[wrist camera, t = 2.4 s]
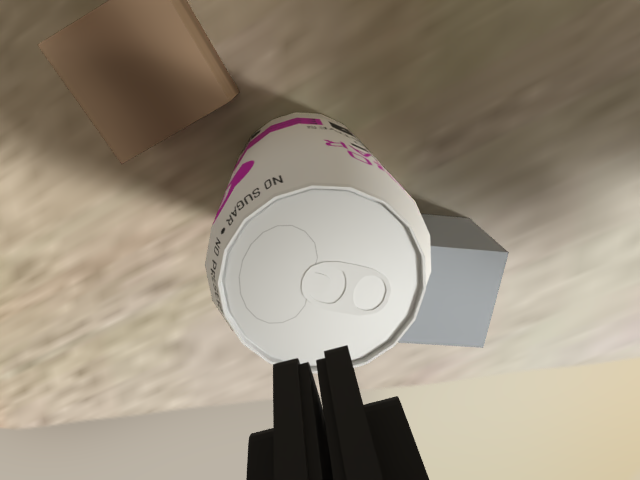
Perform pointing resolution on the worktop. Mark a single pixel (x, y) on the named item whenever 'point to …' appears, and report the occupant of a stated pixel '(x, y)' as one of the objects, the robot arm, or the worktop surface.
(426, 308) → the slate grey block
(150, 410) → the worktop surface
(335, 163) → the supplement can
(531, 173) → the worktop surface
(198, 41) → the walnut block
